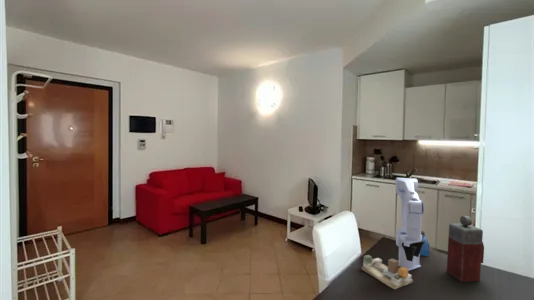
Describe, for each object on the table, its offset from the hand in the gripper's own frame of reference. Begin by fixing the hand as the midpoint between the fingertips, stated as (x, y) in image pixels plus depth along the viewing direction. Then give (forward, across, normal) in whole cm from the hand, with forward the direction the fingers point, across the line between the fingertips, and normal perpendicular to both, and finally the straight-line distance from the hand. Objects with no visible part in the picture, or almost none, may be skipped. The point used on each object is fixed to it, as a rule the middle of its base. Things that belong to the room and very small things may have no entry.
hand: (412, 258), depth 117 cm
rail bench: (+10, +4, -10) cm, 15 cm away
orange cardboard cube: (+7, +5, -2) cm, 9 cm away
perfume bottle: (+10, -34, -9) cm, 36 cm away
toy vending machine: (+10, -24, +14) cm, 30 cm away
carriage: (+8, +5, -6) cm, 11 cm away
